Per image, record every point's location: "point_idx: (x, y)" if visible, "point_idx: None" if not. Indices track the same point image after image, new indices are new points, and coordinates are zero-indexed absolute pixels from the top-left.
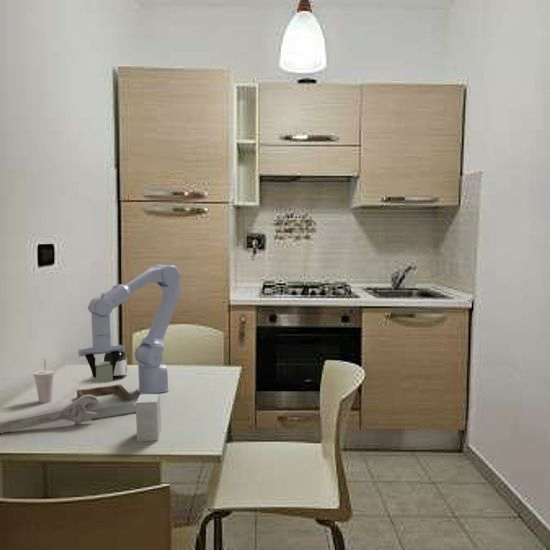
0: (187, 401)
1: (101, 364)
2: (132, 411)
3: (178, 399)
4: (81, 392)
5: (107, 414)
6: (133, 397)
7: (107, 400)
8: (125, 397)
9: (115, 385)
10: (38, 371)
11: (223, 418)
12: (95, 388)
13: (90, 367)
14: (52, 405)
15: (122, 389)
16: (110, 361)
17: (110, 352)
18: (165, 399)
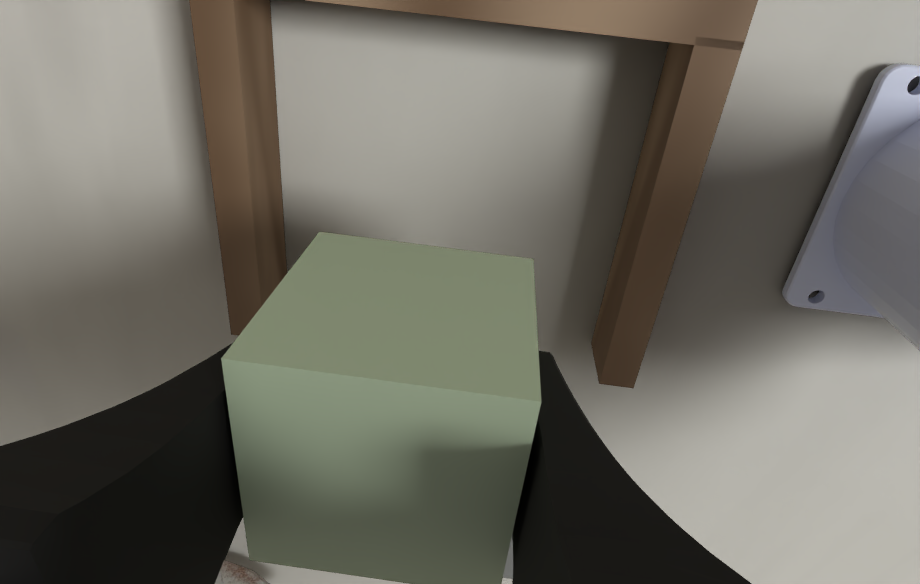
0: (905, 576)
1: (364, 449)
2: (511, 571)
3: (904, 520)
4: (231, 92)
5: None
6: (696, 293)
7: (474, 241)
8: (595, 360)
9: (673, 23)
10: None
11: None
12: (408, 8)
13: (181, 381)
14: (3, 86)
15: (644, 255)
16: (536, 510)
17: None
18: (841, 474)
